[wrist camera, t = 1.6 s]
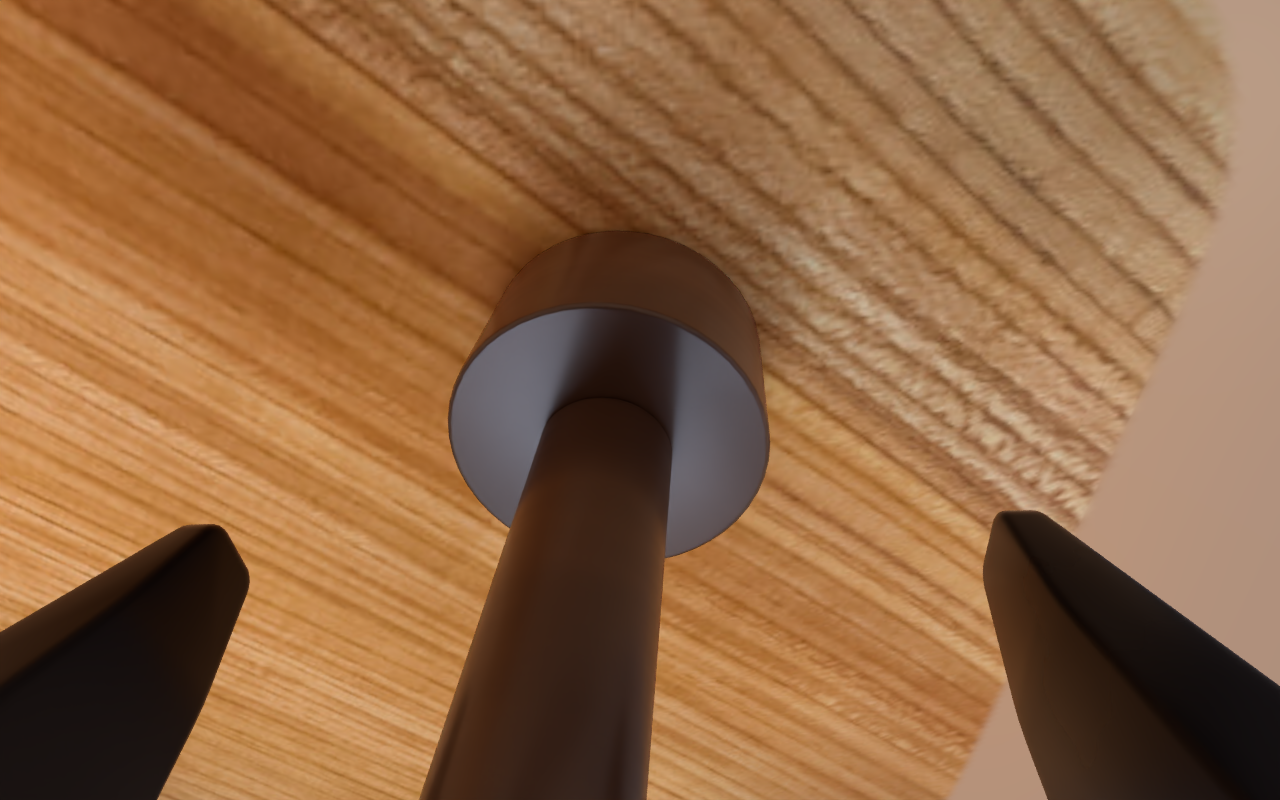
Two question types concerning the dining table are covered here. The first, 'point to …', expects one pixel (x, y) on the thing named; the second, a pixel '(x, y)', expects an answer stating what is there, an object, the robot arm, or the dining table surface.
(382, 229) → the dining table surface
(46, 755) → the robot arm
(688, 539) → the peg on round base
